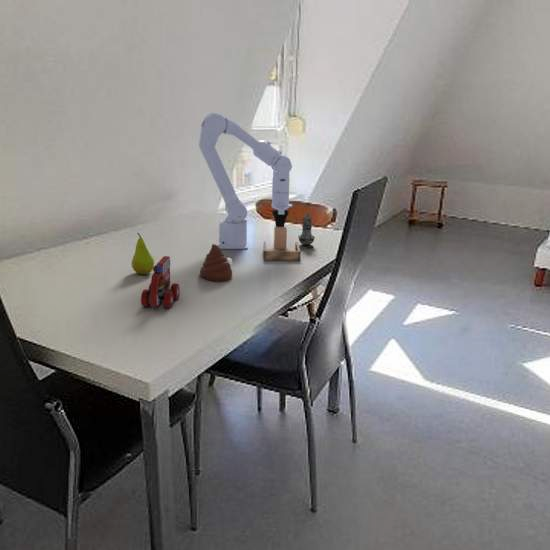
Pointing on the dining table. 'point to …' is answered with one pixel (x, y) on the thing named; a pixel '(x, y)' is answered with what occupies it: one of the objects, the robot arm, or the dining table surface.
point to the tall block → (280, 237)
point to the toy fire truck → (161, 286)
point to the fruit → (142, 258)
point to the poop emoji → (216, 266)
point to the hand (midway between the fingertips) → (279, 231)
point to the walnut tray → (282, 254)
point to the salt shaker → (306, 234)
